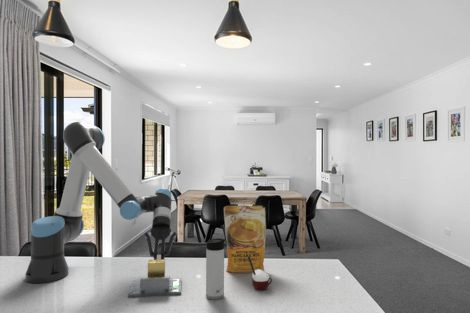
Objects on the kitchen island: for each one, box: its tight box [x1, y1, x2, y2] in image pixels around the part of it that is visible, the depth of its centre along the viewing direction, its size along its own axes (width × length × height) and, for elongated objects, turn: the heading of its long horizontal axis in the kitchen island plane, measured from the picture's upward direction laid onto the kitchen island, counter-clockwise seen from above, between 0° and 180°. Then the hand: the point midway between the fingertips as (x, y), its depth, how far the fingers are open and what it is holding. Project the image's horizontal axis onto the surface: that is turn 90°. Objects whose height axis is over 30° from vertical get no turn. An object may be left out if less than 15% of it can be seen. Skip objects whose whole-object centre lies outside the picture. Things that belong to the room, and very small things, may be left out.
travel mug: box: [205, 237, 226, 301], centre depth 112 cm, size 6×7×20 cm
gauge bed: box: [127, 276, 183, 298], centre depth 118 cm, size 18×13×6 cm
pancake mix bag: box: [223, 204, 267, 274], centre depth 139 cm, size 7×19×28 cm, turn 95°
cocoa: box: [248, 256, 273, 291], centre depth 119 cm, size 10×6×12 cm, turn 86°
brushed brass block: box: [147, 258, 178, 281], centre depth 118 cm, size 10×4×9 cm, turn 98°
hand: (158, 272), depth 121 cm, fingers closed
